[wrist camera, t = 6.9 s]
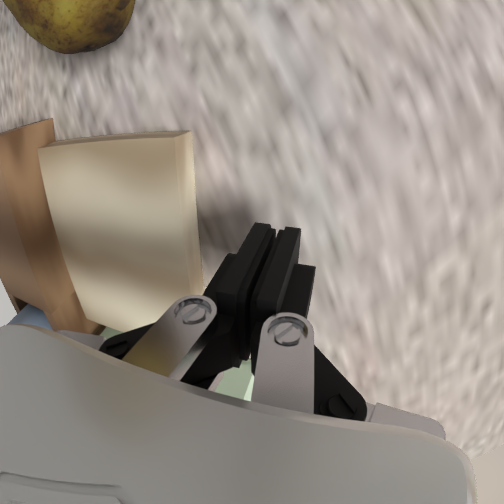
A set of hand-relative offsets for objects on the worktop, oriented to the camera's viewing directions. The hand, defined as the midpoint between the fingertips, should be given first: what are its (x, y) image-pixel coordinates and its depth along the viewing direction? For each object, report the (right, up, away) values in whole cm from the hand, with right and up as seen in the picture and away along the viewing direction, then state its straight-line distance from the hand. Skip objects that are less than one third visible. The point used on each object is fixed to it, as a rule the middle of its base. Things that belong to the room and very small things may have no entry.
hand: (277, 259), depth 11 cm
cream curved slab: (-8, +1, +5) cm, 9 cm away
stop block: (-15, +1, +6) cm, 16 cm away
